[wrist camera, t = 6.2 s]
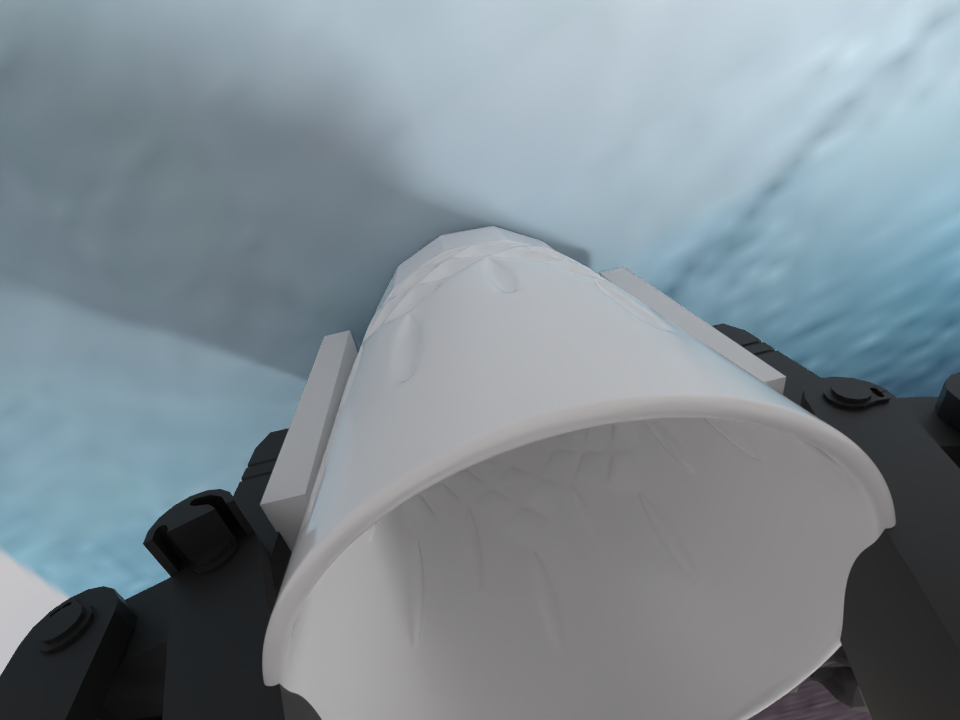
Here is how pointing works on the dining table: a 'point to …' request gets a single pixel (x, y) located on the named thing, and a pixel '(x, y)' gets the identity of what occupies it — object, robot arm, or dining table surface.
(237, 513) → the robot arm
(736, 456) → the white cup
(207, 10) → the dining table surface
